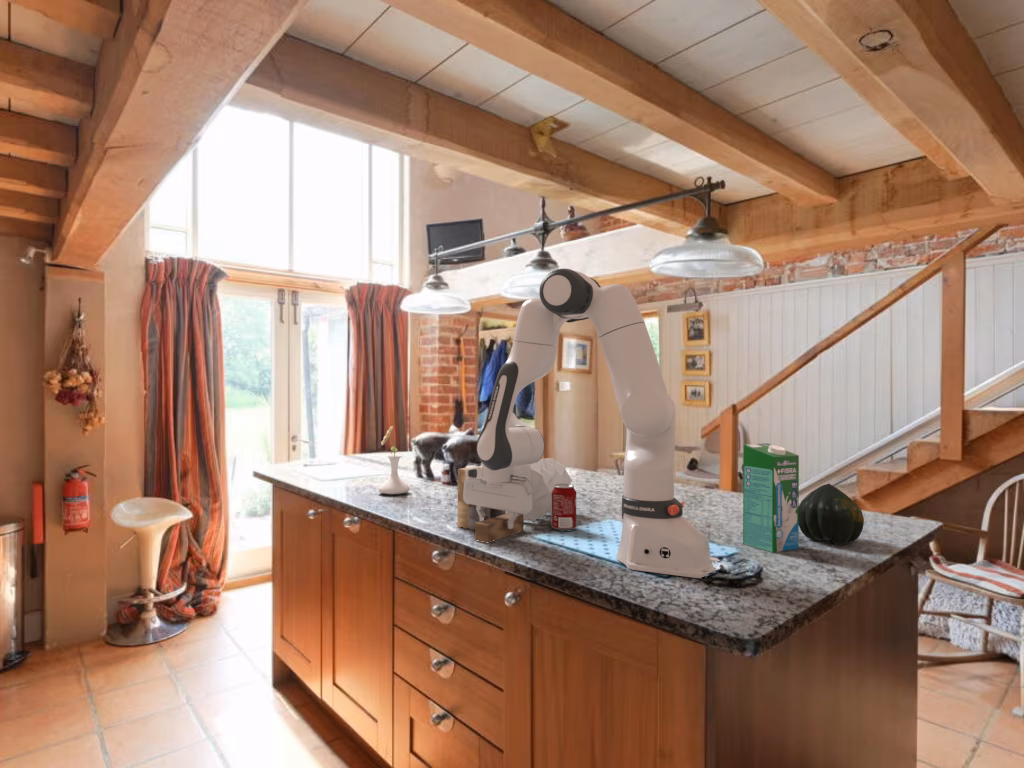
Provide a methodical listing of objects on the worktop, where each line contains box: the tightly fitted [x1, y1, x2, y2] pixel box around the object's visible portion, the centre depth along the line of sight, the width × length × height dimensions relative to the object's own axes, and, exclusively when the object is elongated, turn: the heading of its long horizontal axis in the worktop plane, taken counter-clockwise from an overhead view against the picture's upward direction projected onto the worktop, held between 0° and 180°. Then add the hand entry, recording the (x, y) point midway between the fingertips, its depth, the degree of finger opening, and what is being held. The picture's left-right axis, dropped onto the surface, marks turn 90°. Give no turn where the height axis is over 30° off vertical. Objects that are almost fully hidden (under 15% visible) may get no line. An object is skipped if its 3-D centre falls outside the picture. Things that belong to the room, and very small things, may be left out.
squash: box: [799, 483, 865, 546], centre depth 151 cm, size 14×15×15 cm
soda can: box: [551, 484, 577, 532], centre depth 161 cm, size 7×7×12 cm
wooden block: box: [474, 513, 524, 543], centre depth 153 cm, size 16×4×6 cm, turn 145°
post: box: [456, 465, 506, 530], centre depth 163 cm, size 10×9×16 cm
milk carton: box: [742, 442, 800, 554], centre depth 144 cm, size 9×9×25 cm
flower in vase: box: [377, 425, 411, 496], centre depth 212 cm, size 13×11×25 cm
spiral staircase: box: [506, 457, 573, 523], centre depth 177 cm, size 18×18×25 cm
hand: (496, 525), depth 154 cm, fingers open, 7 cm apart
